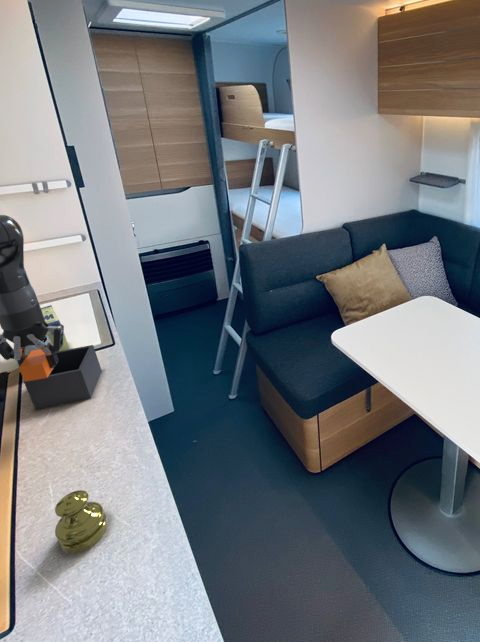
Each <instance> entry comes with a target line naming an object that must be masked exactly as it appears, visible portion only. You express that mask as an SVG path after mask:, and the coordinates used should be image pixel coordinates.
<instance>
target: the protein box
mask: <svg viewBox="0 0 480 642" xmlns="http://www.w3.org/2000/svg"><path fill="white" fill-rule="evenodd" d="M40 308H41V310H42V313H43V316H44V320H45V322H46V323H47V324H48V325H49V326H58V325H59V324H61V321H60V319H59V318H58V316H57V313H56V312H55V309H54V307H53V305H52V304H50V305H47V306H44V307H40ZM46 335H47V336H48V337H49V339H50V342H51V343H52V344H53V342H54V336H52V335H51V333H50V332H49V331H48V332H47V334H46ZM68 349H71V347H70V346H69V342H68V341H67V337H66V335H65V333H64V334H63V345H62V347H61V348H60V350H59V351H62V350H68ZM33 350H39V349H38V347H37V346H36V345H28V346H26V347H25V355H29V354H30V352H31V351H33Z"/></svg>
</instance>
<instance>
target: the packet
mask: <svg viewBox="0 0 480 642" xmlns="http://www.w3.org/2000/svg"><path fill="white" fill-rule="evenodd" d="M18 370H19V372H20V374H21V377H22V379H23V382H24V381H25V382H26V381H32V380H38V379H43V378H48V376H49V375H50V373H51V371H52V370H53V368H50V366H49V364H48V361H47V358H46V354H45V353H44V352H43V351H42V350H41V349H39V350H33V351H31V352H30V354H29V355H28V356H27V358H26V359H25V360H24V362H23V363H22V364H21V365H20V367H19V366H18Z"/></svg>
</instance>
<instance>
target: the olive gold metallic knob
mask: <svg viewBox="0 0 480 642" xmlns="http://www.w3.org/2000/svg"><path fill="white" fill-rule="evenodd" d="M54 513H55V515H56V516H58V517H60V519H59V520H58V521H57V524H56V525H55V528H54V535H55V538H56V540H58V544H59V545H60V547H61V549H62V551H63V552H64V553H66V554H69V555H70V554H71V555H75V554H79V553H82V552H85V551H87V550H89V549H90V548H92V547H93V546H95V545H96V544H97V543H98V542H99V541H100V540H101V539H102V538H103V537H104V535H105V534H106V532H107V530H108V526H109V522H108V519H107V516H106V513H105V512H104V508H103V506H102V504H101V503H99V502H98V501H92V500H91V501H89V493H88V492H87V491H86V490H83V489H78V490H74V491H72V492H69V493H67V494H65V495H64V496H63V497H62V498H61V499H59V501H58V502H57V503H56V505H55V507H54Z"/></svg>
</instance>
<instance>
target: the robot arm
mask: <svg viewBox="0 0 480 642" xmlns="http://www.w3.org/2000/svg"><path fill="white" fill-rule="evenodd" d="M24 242H25V241H24V232H23V230H22V227H21V225H20V224H19V223H18V221H16V220H15V218H13V217H11V216H8V215H6V214H0V328H1V330H2V333H0V356H1V357H2V358H3V359H4V360H6V361H9V360H15V361H16V362H17V365H18V368H19V367H20V365H21V364H22V363H23V362H24V360H25V359H26V358H27V356H28V355H25V347H26V346H28V345H36V346H37V347H38V349H41V350H42V351H43V352H44V353H45V354H46V358H47V361H48V364H49V366H50V368H54V367H55V366H56V364H57V363H58V357H57V354H56V352H57V351H59V350H60V348H61V347H62V345H63V334H65V332H64V330H65V326H64V325H63V324H59V325H58V326H49V325H48V324H47V323H46V322H45V320H44V316H43V313H42V310H41V308H42V307H41V305H40V303H39V299H38V297H37V294H36V291H35V290H34V287H33V286H32V284H31V282H30V279H29V276H28V273H27V271H26V268H25V262H24V261H25V257H24V252H25V251H24V244H25V243H24ZM48 331H49V332H50V333H51V335H52V336H54V342H53V344H52V343H51V342H50V339H49V337H48V336H47V335H46V334H47V332H48ZM8 341H9V342H11V343H13V347H12V345H10V343H9V342H8Z"/></svg>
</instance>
